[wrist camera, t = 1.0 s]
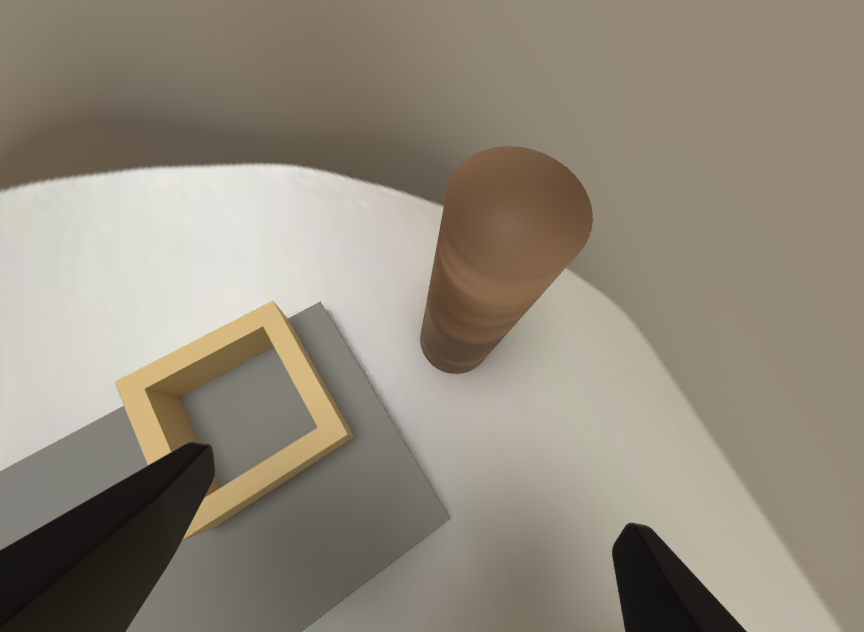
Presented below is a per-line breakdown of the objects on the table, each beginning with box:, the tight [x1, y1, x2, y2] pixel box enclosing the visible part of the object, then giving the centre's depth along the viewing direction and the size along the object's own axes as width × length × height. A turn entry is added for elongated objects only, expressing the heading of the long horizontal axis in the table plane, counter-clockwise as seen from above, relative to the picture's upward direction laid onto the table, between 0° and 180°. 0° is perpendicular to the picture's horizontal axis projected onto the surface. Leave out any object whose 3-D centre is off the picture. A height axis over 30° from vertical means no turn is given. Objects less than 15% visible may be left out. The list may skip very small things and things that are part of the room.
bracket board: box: [0, 301, 450, 632], centre depth 18 cm, size 14×20×4 cm
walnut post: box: [420, 146, 593, 374], centre depth 18 cm, size 4×4×14 cm
